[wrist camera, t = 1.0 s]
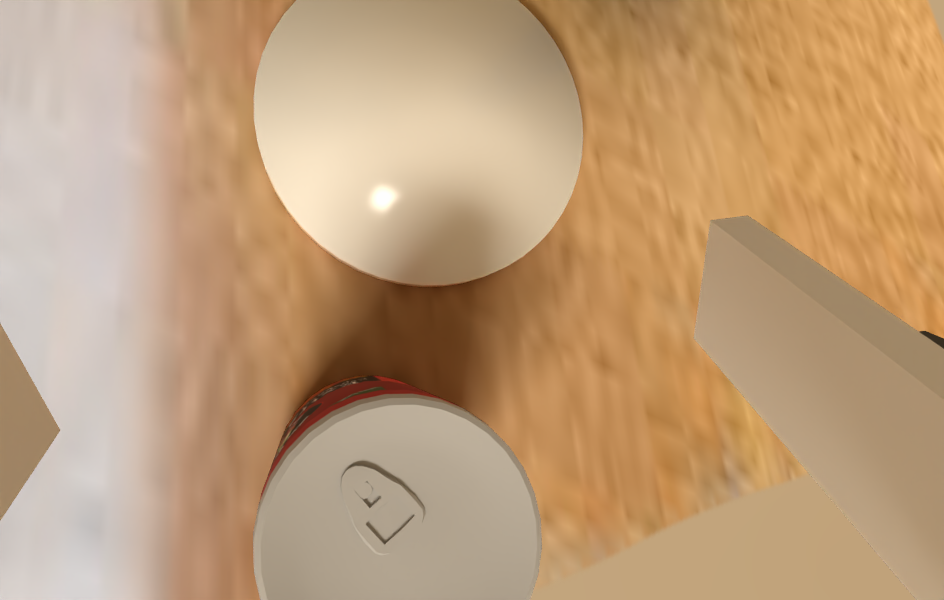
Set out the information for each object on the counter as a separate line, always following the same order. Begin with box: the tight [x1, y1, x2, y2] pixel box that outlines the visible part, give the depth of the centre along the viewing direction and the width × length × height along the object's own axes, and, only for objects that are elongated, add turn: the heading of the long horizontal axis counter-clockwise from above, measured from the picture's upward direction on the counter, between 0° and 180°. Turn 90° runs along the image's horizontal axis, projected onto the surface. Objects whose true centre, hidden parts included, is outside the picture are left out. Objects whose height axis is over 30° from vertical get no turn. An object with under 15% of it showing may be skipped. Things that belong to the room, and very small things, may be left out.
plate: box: [254, 0, 583, 287], centre depth 27 cm, size 15×15×1 cm
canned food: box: [253, 376, 542, 600], centre depth 21 cm, size 8×8×11 cm
